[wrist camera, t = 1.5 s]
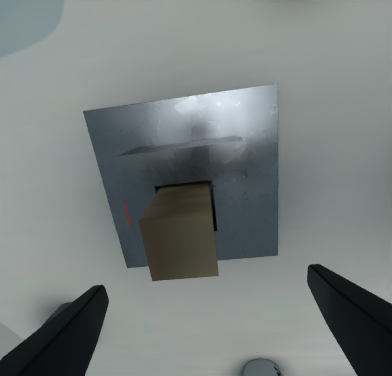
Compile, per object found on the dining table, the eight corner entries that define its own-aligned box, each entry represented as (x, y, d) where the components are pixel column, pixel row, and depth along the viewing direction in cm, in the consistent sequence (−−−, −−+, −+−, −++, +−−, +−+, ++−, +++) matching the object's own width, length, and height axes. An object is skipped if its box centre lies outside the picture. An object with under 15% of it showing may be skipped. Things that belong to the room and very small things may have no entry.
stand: (275, 85, 18) (303, 70, 13) (275, 251, 24) (295, 287, 19) (87, 111, 20) (45, 108, 14) (129, 263, 25) (110, 300, 20)
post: (207, 170, 20) (212, 213, 11) (212, 207, 21) (219, 276, 12) (167, 174, 20) (137, 221, 11) (174, 211, 22) (151, 281, 12)
